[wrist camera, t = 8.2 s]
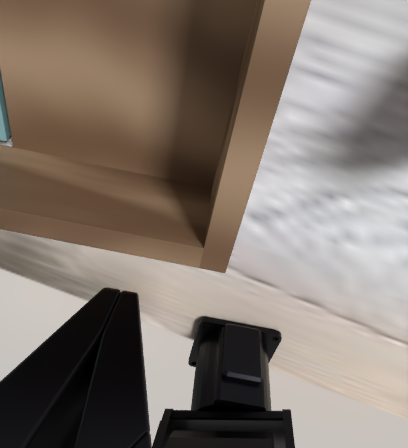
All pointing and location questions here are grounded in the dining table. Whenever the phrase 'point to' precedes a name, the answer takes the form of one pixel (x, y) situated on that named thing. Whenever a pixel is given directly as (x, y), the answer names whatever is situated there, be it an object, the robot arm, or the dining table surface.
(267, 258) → the dining table surface
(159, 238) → the crate
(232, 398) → the robot arm
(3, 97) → the panel
